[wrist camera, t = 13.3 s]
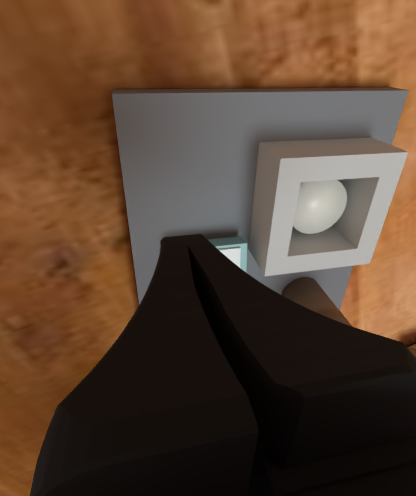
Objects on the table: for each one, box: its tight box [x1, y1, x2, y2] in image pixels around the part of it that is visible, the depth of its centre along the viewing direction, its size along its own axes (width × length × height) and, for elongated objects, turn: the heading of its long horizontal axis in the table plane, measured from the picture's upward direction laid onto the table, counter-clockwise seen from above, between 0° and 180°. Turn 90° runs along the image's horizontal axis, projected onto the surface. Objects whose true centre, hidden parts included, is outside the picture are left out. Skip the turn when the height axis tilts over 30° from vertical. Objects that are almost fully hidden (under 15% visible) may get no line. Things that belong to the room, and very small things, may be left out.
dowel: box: [282, 277, 351, 326], centre depth 22 cm, size 3×3×7 cm
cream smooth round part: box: [293, 180, 347, 234], centre depth 20 cm, size 4×4×2 cm
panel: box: [112, 87, 409, 310], centre depth 21 cm, size 18×16×4 cm
